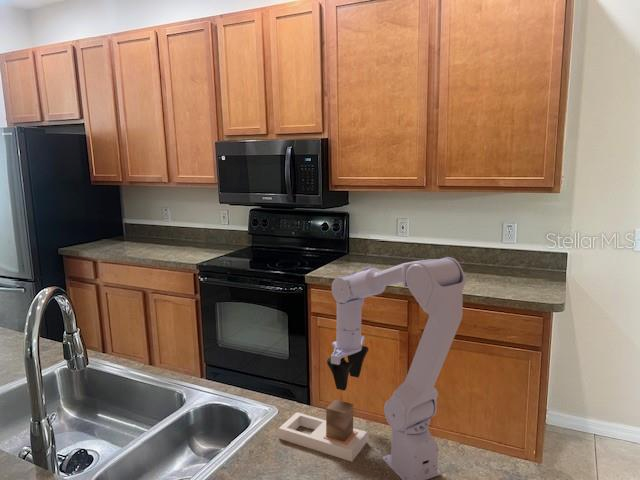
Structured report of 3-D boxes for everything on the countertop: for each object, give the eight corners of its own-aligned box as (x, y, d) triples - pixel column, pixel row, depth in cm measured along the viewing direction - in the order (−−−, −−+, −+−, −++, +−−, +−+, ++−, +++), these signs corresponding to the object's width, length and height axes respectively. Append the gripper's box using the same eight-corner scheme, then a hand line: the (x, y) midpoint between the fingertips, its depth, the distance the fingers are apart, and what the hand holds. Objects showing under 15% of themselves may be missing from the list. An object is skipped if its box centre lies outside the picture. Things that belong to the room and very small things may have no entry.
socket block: (366, 442, 105) (366, 431, 104) (351, 461, 98) (352, 449, 97) (296, 421, 113) (296, 411, 113) (278, 438, 106) (278, 427, 106)
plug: (353, 431, 104) (353, 404, 103) (344, 441, 100) (345, 413, 99) (335, 426, 106) (335, 399, 105) (326, 436, 102) (326, 408, 101)
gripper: (346, 315, 117) (345, 367, 119) (318, 333, 104) (318, 391, 106) (372, 320, 114) (371, 373, 116) (347, 339, 101) (346, 398, 103)
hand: (348, 382), depth 111 cm, fingers open, 7 cm apart
